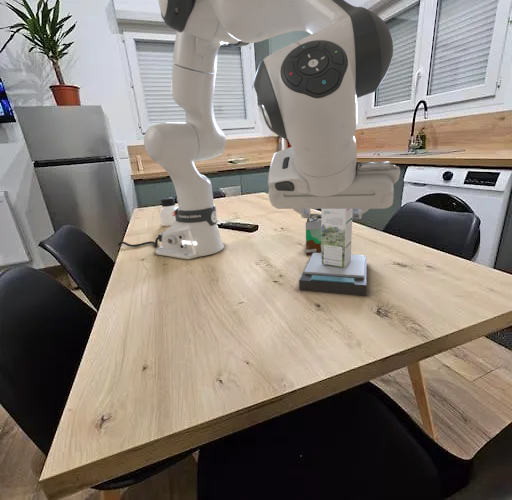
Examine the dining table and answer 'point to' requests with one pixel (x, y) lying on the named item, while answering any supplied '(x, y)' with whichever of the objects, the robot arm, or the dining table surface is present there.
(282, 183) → the robot arm
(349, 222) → the syrup box
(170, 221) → the medicine bottle
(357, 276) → the kitchen scale
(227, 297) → the dining table surface
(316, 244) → the food container
